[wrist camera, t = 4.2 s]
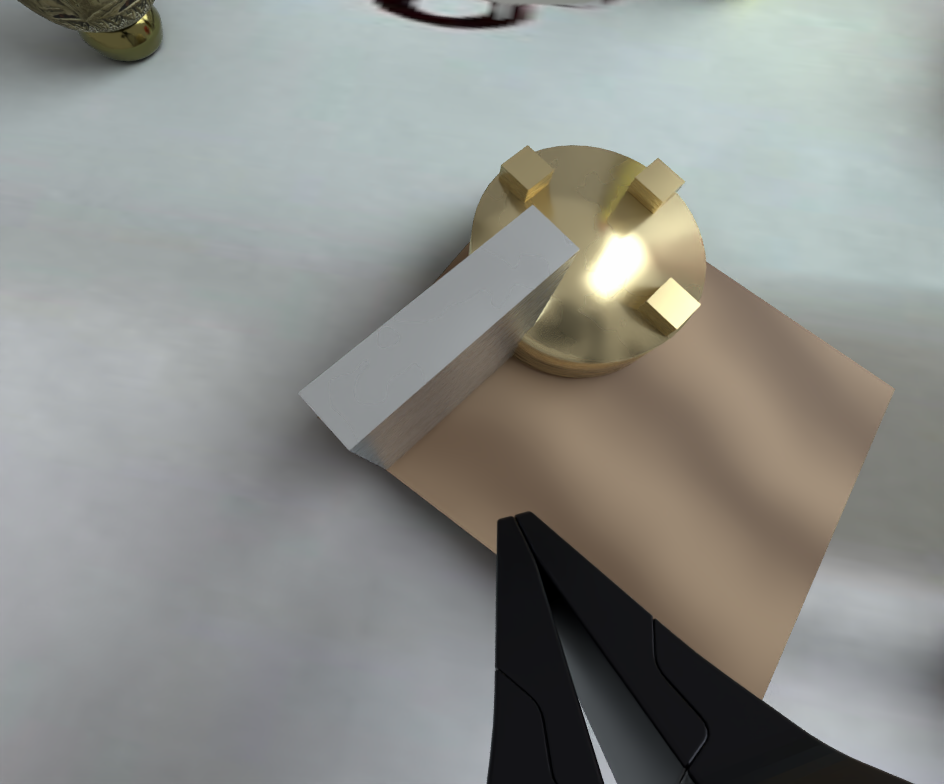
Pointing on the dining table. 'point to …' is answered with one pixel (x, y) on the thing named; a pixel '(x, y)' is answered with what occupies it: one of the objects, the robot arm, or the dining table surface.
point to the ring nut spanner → (527, 296)
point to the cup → (107, 24)
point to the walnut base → (675, 469)
